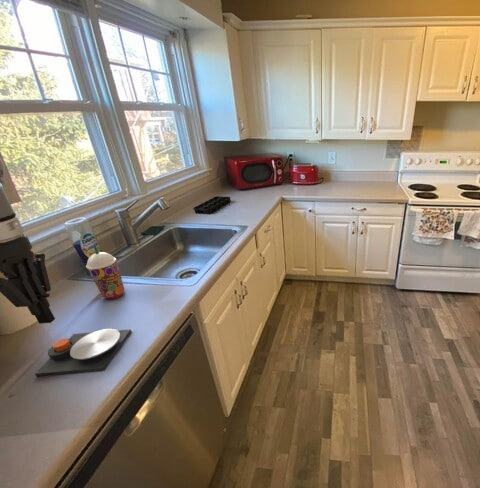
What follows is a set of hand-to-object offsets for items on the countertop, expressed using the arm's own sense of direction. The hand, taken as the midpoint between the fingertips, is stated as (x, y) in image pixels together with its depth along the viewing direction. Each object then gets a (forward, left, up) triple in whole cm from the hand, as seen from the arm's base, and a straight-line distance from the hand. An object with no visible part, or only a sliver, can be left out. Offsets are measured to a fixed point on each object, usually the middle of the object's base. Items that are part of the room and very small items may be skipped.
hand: (47, 321), depth 72 cm
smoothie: (-2, +28, -12) cm, 31 cm away
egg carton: (+9, +129, -12) cm, 130 cm away
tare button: (0, 0, -9) cm, 9 cm away
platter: (+9, 0, -9) cm, 12 cm away
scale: (+6, 0, -12) cm, 13 cm away
